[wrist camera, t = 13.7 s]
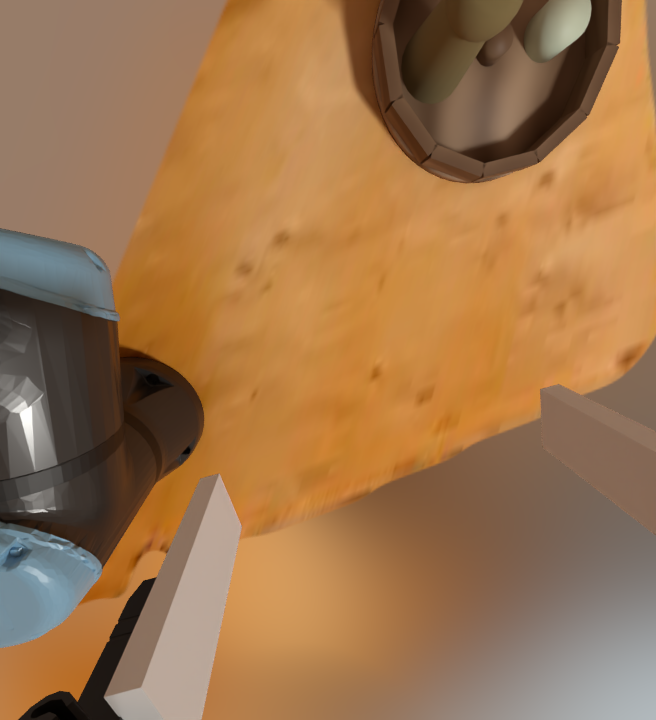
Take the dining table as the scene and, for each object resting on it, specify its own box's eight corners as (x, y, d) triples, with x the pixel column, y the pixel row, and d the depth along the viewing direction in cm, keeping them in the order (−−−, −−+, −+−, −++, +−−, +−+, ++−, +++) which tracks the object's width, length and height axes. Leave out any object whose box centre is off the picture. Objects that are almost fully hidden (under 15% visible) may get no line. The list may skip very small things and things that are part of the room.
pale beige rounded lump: (524, 67, 31) (547, 48, 28) (522, 15, 30) (546, -10, 27) (564, 57, 31) (590, 37, 28) (564, 5, 30) (591, -21, 27)
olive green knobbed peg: (400, 28, 29) (456, -98, 19) (464, 23, 30) (553, -103, 19) (402, 106, 31) (454, 31, 21) (462, 101, 32) (543, 25, 21)
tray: (393, 205, 35) (403, 200, 32) (349, -66, 28) (356, -108, 25) (588, 155, 35) (617, 145, 32) (592, -127, 28) (631, -176, 25)
